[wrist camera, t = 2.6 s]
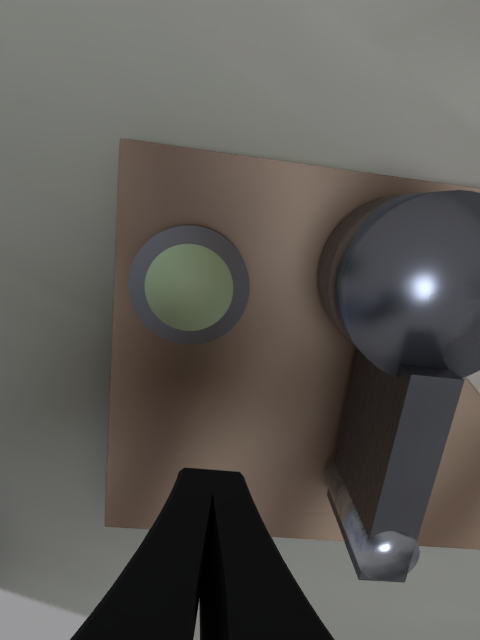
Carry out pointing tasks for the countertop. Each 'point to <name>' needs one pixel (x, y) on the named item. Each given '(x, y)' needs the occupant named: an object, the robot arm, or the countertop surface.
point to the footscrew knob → (399, 363)
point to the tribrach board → (246, 341)
